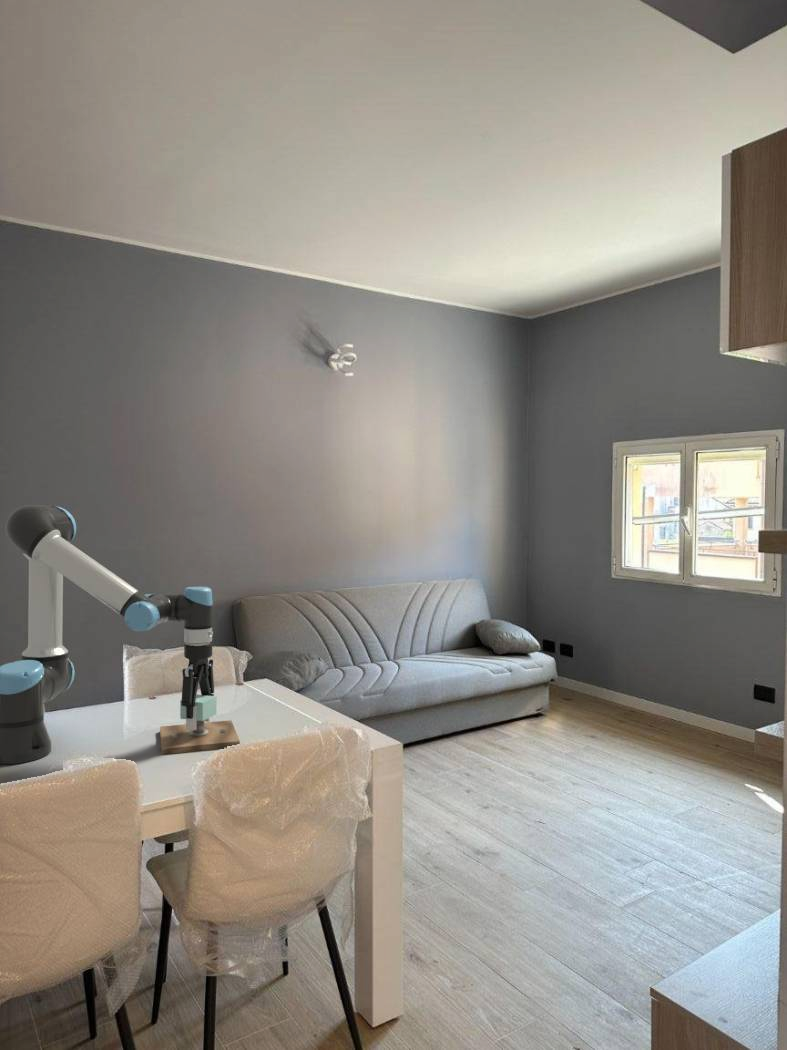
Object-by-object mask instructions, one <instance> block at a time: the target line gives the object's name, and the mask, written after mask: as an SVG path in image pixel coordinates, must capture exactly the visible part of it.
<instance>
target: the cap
mask: <svg viewBox="0 0 787 1050" xmlns="http://www.w3.org/2000/svg"><path fill="white" fill-rule="evenodd" d="M181 701H182V699H181V700H180V701H179V702H180V705H179V707H180V709H179V711H180V712H179V714H180V715H179V716H180V717H179V719H181V720H186V706H182V705H181ZM195 706H197V721H204V720H206V719H208V718H210V719H211V718H212V717H213V716H216V715H217V712H218V711H217V696H216V695H214V696H206V695H201V694H197V695H196V701H195ZM204 722H205V721H204Z"/></svg>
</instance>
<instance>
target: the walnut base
mask: <svg viewBox="0 0 787 1050" xmlns="http://www.w3.org/2000/svg"><path fill="white" fill-rule="evenodd" d="M159 733H160V734H159V735H160V736H159V737H160V748H161V749H160V751H161V755H169V754H170V755H171V754H181V753H191V752H199V751H209V750H212V751H213V750H219V749H220V748H222V749H225V748H224V747H227V746H232V745H237V744H240V743H241V740H240V739H239V735H238V734H237V731H236V729H235V725H234V724H233V721H232V719H229V720H220V721H219V720H218V721H209V722H206V721H197V730H186V723H185V724H174V725H164V726H162V725H161V726H159ZM240 745H241V744H240ZM220 750H221V749H220Z"/></svg>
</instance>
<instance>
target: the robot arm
mask: <svg viewBox="0 0 787 1050" xmlns="http://www.w3.org/2000/svg"><path fill="white" fill-rule="evenodd" d="M76 533H77V524H76V520H75V518H74V517H73V515H72V514H71V513H70V512H69V511H68V510H67V509H65V508H63V507H60V506H57V505H50V504H47V505H45V504H44V505H34V504H33V505H32V504H31V505H24V506H20V507H18V508H17V509H14V510H13V511H12V512H11V513H10V514H9V515H8V517H7V519H6V522H5V534H6V537H7V539H8V541H9V542H10V544H12V545H13V546H14V547H15V548H16V549H17V550H19V551H20V552H22V555H23V556H24V557H25V559H27V560H28V614H27V615H28V618H27V619H28V622H27V624H28V630H27V633H28V634H27V635H28V636H27V637H28V640H27V641H28V642H27V648H26V649H25V650H23V651H22V652H21V660H16V661H13V662H7V663H4V664H3V665H1V666H0V765H13V764H16V765H17V764H22V763H28V762H32V761H36V760H39V759H41V758H42V759H43V758H44V757H46V756H48V755H49V754H50V753H51V752H52V741H51V738H50V734H49V733H48V730H47V727H46V724H45V719H44V718H45V717H44V715H45V714H44V713H45V712H44V711H45V708H44V707H45V706H44V705H45V704H46V703H48V702H50V701H51V700H53V699H57V698H58V697H60V696H61V695H63V694H64V693H65V692H66V691H67V690H69V688H70V687H71V686H72V684H73V681H74V678H75V666H74V664H73V662H72V661H71V660H70V659H69V650H68V649H67V648H66V647H65V646H64V645H63V624H64V623H63V619H64V618H63V617H64V616H63V612H64V611H63V605H64V603H63V601H64V599H63V598H64V577H65V578H66V579H68V580H69V581H71V582H72V583H73V584H75V585H77V587H79V588H80V589H82V590H83V591H85V592H86V593H87V594H90V595H91V596H92V597H94V598H95V599H97V600H98V601H99V602H101V603H103V604H104V605H105V606H107V607H108V608H110V609H111V610H112V611H114V612H115V613H116V614H118V615H120V616H121V617H122V618H124V622H125V625H126V626H127V627H128V628H129V629H130V630H132V631H135V632H144V631H145V632H146V631H149V630H151V629H154V627H156V626H158V625H161V624H163V623H166V622H183V625H184V626H183V627H184V629H183V630H184V633H183V642H184V643H185V644H184V645H183V653H184V654H183V656H184V658H185V659H188V665H187V668H183V669H182V671H181V672H182V688H181V700H182V701H181V700H180V701H181V705H182V706H186V719H185V724H186V730H197V706H195V701H196V695H198V688H199V689H200V693H201V694H200V695H206V696H215V685H214V682H215V681H214V659H210V658H211V657H212V656H213V644H212V641H213V635H214V631H213V605H214V603H213V593H212V588H210V587H208V586H188V587H185V588H184V590H183V591H184V592H183V593H181V594H173V593H172V594H171V593H167V594H165V593H164V594H163V593H148V594H147V593H146V594H143V593H142V592H141V591H140V590H138V589H136V588H135V587H133V585H130V583H128V582H126V581H125V580H123V579H122V578H121V577H119V576H118V575H116V574H115V573H114V572H112V571H111V570H109V569H108V568H106V567H105V566H104V565H102V564H100V563H99V562H98V561H97V560H95V559H94V558H92V557H91V556H89V555H87V554H86V553H85V552H83V551H82V550H80V549H79V548H77V547H76V546H75V545H73V544H72V543H71V542H72V541H73V539H74V538H75V536H76ZM204 722H205V723H206V722H211V717H210V718H208V719H206V720H204Z"/></svg>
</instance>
